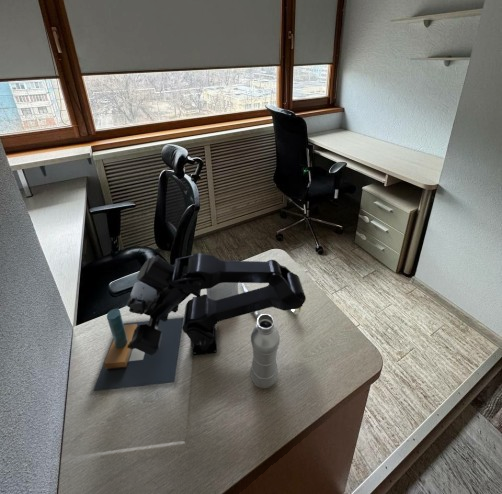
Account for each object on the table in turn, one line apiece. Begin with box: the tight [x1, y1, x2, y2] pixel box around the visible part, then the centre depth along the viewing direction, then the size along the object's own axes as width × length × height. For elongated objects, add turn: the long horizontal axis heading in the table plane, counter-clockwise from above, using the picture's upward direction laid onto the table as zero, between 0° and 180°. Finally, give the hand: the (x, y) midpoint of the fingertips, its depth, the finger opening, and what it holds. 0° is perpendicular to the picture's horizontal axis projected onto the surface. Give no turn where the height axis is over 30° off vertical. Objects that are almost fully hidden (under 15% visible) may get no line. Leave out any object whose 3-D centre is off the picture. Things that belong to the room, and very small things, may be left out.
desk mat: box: [92, 317, 184, 392], centre depth 72 cm, size 19×17×1 cm
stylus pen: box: [240, 283, 260, 318], centre depth 87 cm, size 15×3×2 cm, turn 22°
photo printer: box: [205, 283, 239, 300], centre depth 84 cm, size 10×4×12 cm, turn 123°
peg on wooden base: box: [103, 308, 138, 371], centre depth 70 cm, size 5×10×14 cm, turn 5°
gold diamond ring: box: [289, 307, 302, 315], centre depth 82 cm, size 7×3×8 cm, turn 24°
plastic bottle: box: [250, 313, 281, 389], centre depth 63 cm, size 6×7×20 cm
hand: (134, 329), depth 70 cm, fingers open, 9 cm apart
